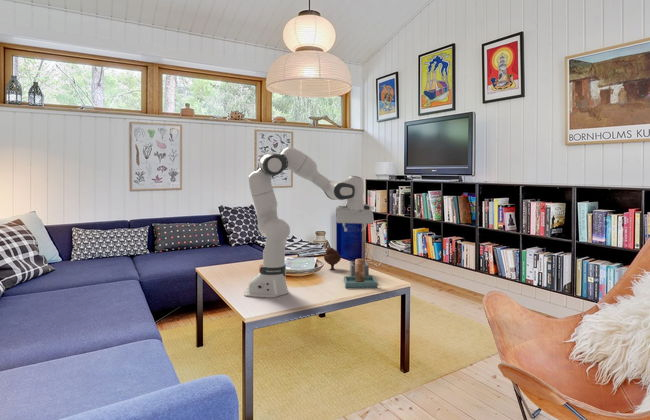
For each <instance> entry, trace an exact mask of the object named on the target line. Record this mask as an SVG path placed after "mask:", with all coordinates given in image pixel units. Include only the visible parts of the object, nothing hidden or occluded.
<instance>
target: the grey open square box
mask: <svg viewBox="0 0 650 420" xmlns="http://www.w3.org/2000/svg"><path fill="white" fill-rule="evenodd" d="M369 267H370V265H369V264H368V262H367V261H364V276H370V275H369V274H370V273H369V270H370V268H369ZM349 276H355V261H350V262H349Z"/></svg>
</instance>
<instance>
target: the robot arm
mask: <svg viewBox="0 0 650 420" xmlns="http://www.w3.org/2000/svg"><path fill="white" fill-rule="evenodd" d="M285 170H289V171H291V172H292V173H294V174H295V175H297V176H299V177H301V178H303V179H304V180H307V181H309V182H312V183H313V185H315V186H316V187H318V188H320V189H321V190H322V191H323V192H324V194H325V195H326V197H327V198H328V199H330V200H332V201H333V200H334V201H335V200H336V201H337V200H338V201H345V200H346V202H347V203H346V205H338V206H337V207H335V214H336V215H335V216H336V217H335V218H336V219H335V221H336V223H337V224H342V227H343V229H344V232H348V227H346V224H363V227H362V228H361V232H362V233H365V232H366V231H365V229H366V228H367V226H368V225H369V224H370V225H371V224H373V223H374V213H373V211H372V209H373V207H372V206H371V205H369V204H367V203H364V192H365V188H364V187H365V186H364V185H365V184H364V179H363V178H362V177H360V176H356V175H349V176H348V177H347V178H345V179H343V180H341V181H334V180H329V178H327V177H326V176H324V175H323V174H321V173H320V172H319V171H318V166H317V163H316V162H315V161H314V160H313V159H312V158H311V157H310V156H309V155H308V154H305V153H304V152H302V151H301V150H298V149H296V148H294V147H292V146H287V147H286V148H284V149H283V150H282V151H281V153H274V152H267V153H264V154H262V155H261V156H260V158H259V159H258V164H257V169H256V170H255V171H253V172H251V173H250V174H249V175H248V184H249V189H250V193H251V197H252V200H253V203H254V207H255V210H256V216H257V217H256V218H257V230H258V231H259V233H260V234H261V235H262V236H263V237H265V244H264V249H263V250H262V263H263V264H260V265H259V270H258V271H259V273H257V274H256V275H255V276H254V277H253V278H252V279H251V280H250V281H249V283H248V288H246V289H245V290H244V292H243V295H244V297H252V298H254V297H255V298H276V297H279V296H280V297H281V296H283V295H286V294H288V293H289V289H288V285H287V280H286V278H287V277H286V275H287V267H286V261H285V260H286V259H285V258H286V256H285V255H286V253H285V252H286V245H287V240H288V238H289V236H290V235H291V228H290V225H289V224H288V222H286V221H285V220H283V219H281V218H279V216H278V202H277V198H276V195H275V190H274V188H273V184H272V178H273V176H274V177H275V176H278V175H280V174H282V173H283V172H284V171H285Z"/></svg>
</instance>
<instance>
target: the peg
mask: <svg viewBox="0 0 650 420" xmlns="http://www.w3.org/2000/svg"><path fill="white" fill-rule="evenodd" d="M354 262H355V282H364V262H365V259H364V258H356V259H355V261H354Z"/></svg>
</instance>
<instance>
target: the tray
mask: <svg viewBox="0 0 650 420" xmlns="http://www.w3.org/2000/svg"><path fill="white" fill-rule="evenodd" d="M343 282H344V286H345V289H378V281H377V280H376V278H375V275H369V276H364V282H355V276H350V275H348V276H347V275H345V276H344V275H343Z"/></svg>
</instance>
